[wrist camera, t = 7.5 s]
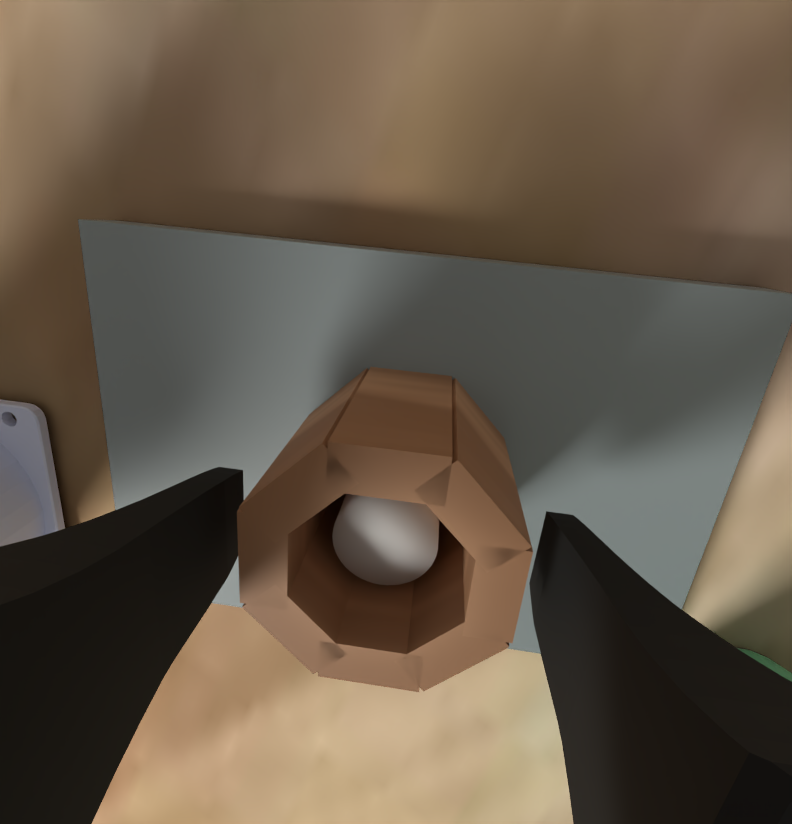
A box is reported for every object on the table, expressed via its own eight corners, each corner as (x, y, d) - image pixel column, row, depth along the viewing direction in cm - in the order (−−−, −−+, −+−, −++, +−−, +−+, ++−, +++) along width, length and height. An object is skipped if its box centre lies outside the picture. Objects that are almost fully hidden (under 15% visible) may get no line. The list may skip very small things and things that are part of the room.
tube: (305, 532, 15) (241, 663, 11) (309, 359, 13) (233, 430, 9) (483, 557, 15) (498, 704, 10) (515, 383, 13) (551, 469, 8)
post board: (150, 562, 18) (49, 675, 14) (114, 220, 14) (-50, 216, 9) (641, 635, 17) (711, 786, 13) (764, 288, 13) (939, 321, 8)
